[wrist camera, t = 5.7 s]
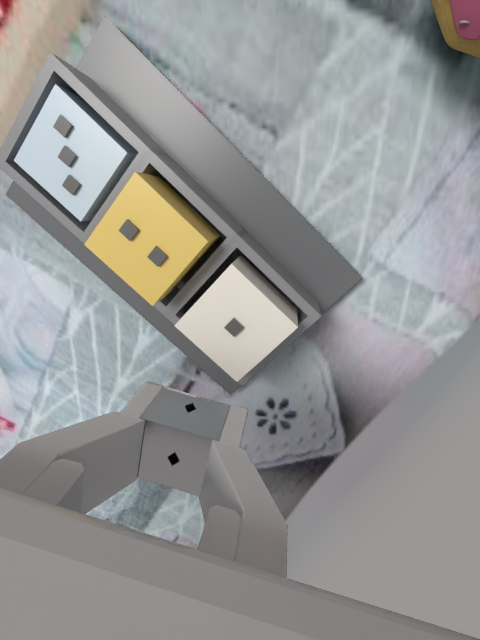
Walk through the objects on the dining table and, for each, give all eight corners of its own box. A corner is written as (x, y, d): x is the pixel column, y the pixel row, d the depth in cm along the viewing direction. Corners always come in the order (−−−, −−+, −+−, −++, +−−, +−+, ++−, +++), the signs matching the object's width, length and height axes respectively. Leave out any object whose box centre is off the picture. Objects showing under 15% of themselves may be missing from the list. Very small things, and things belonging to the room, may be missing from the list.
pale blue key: (109, 219, 21) (78, 221, 18) (52, 166, 20) (10, 160, 17) (151, 160, 19) (125, 152, 16) (90, 101, 19) (52, 82, 16)
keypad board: (232, 387, 25) (221, 421, 21) (17, 195, 23) (-41, 192, 19) (359, 274, 21) (375, 290, 17) (114, 25, 19) (66, -23, 15)
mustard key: (171, 291, 20) (150, 307, 17) (113, 238, 19) (81, 245, 16) (220, 235, 18) (207, 241, 15) (159, 176, 18) (132, 171, 15)
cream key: (244, 358, 21) (236, 384, 18) (190, 308, 20) (172, 327, 17) (297, 309, 19) (298, 328, 16) (240, 254, 19) (230, 264, 16)
